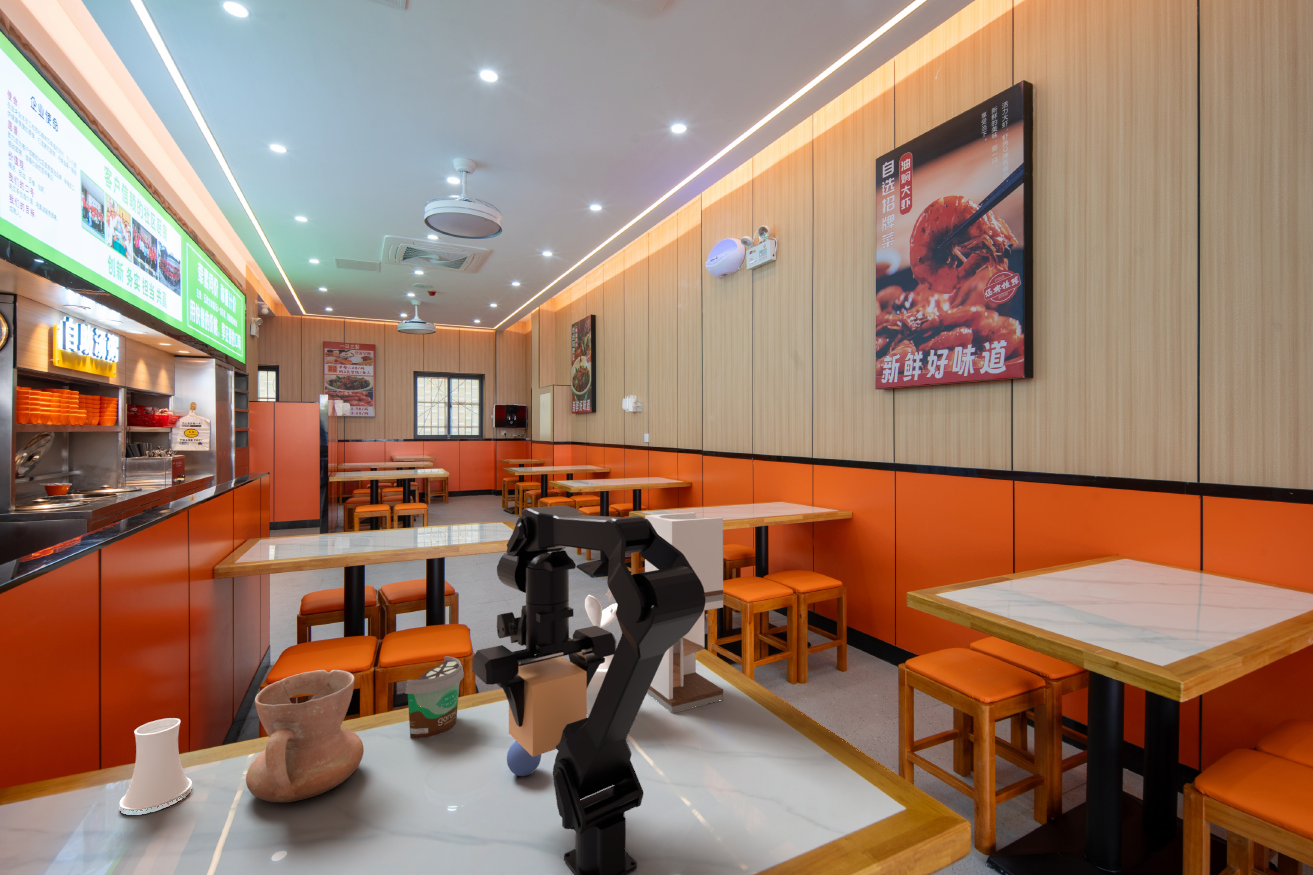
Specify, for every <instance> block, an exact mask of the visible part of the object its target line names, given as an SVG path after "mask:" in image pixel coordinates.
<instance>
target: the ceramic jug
mask: <svg viewBox="0 0 1313 875" xmlns="http://www.w3.org/2000/svg"><path fill="white" fill-rule="evenodd" d="M355 680H356V679H355V675H353V674H352V673H351V672H349V671H345V670H341V669H332V670H331V671H329V672H328V671H326V670H325V669H319V670H312V671H305V672H301V673H298V674H293V675H290V676H287V677H285V678H283V679H280V680H278V681H275V682H272V683H271V684H269V685H267V686H265V687H264V688H262V689H261V690H260V691H259V692H258V693H257V694H256V696H255V699H254V703H255V708H256V712H257V715H258V719H259V721H260V723H261V725H262V727H263V729H264V731H265V733H266V734H267V736H268V740H267V742H266V747H265V749H264V750H262V752H260V753H259V754H258V755H257V756H256V757H255V758H254V760H253V761H252V762H251V763H250V765H249V767H248V770H247V773H246V776H245V783H246V787H247V789H248V791H249V793H250V794H251V795H252V796H253V797H255V798H257V799H260V800H262V801H266V802H270V803H290V802H296V801H297V802H298V801H302V800H307V799H309V798H313V797H316V796H319V795H322V794H323V793H326V792H328V791H330V790H332V789H334V788H336V787H338V786H339V785H340V784H342V783H344V782H345V781H346V780H347V779H348V778H349V777H351V775H352V774H354V773H355V771H356V770H357V769H358V767H359V765H360V763H361V761H362V759H363V755H364V752H365V750H364V745H363V744H364V743H363V741H362V739H361V738H360V736H359V735H358V734H357V733H356V732H354V731H352V730H350V729H347V728H344V727H341V726H342V725H343V724H342V723H343V721H344V720H345V717H346V715H347V712H348V709H349V707H350V703H351V701H352V698H353V697H352V696H353V694H354V693H353V692H354V687H355ZM304 694H306V695H307V694H309V695H310V694H314V695H313V696H312V697H311V699H310V700H306V701H305V702H301V703H292V701H291V700H290V699H291V698H292V697H295V696H297V695H304Z"/></svg>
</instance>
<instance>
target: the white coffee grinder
mask: <svg viewBox="0 0 1313 875" xmlns="http://www.w3.org/2000/svg"><path fill="white" fill-rule="evenodd" d="M696 515H697V513H696V512H681V513H679V512H678V513H665V514H664V513H663V514H647V515H646V514H645V515H644V518H646V519H648V520H649V521H650V523H651V524H652V526H653V527H654V529H655V531H656V532H657V534H658V535H659V536H661V537H662V538H663V539H665V540H666V541H667V542H669V543H670V544H671V545H673V546H674V547H675V548H677V549H678V550H679V551H680V552H682V553H683V554H684V556H685V557H686V559H687V561H688V562H689V564H690V565H691V567H692V568H693V570H694V572H695V573H696V575H697V576H698V578H699V579H700V581H701V583H702V585H703V587H704V593H705V595H704V596H705V597H706V601H705V607H704V611H703V613H702V615H701V616H700V618H699V619H698V620H697V622H696V623H695V624H694V626H693V627H692V628H691V630H690V631H689V632H688V633H687V634H686V635H685V636H684V637H682V638H681V639H680V640H679V641H677V642H676V643H675V644H674V645H673V646H671V647H670V648H669V649H668V650H667V651H666V652H665V654H664V656H663V658H662V661H661V663H660V665H659V667H658V669H657V672H656V674H655V676H654V678H653V680H652V683H651V685H650V687H649V689H648V691H647V693H648V694H649V695H650V696H649V695H648V694H647V695H648V696H649V697H651V698H652V697H653V698H654V699H655V701H656V700H657V701H656V702H657V703H658V702H659V703H658V704H659V705H661V706H662V707H663V706H664V707H663V708H665V710H667V709H668V710H669V711H668V712H670V713H671V714H674V713H675V714H676V713H678V712H682V711H687V710H690V709H689V708H691V709H693V708H692V707H695V706H699V707H702V706H701V705H703V706H706V704H707V705H709V704H708V703H711V704H714V703H713V702H715V703H718V702H717V701H719V700H722V701H724V689H723V688H721V687H720V686H718V685H717V684H715V683H713V682H712V681H710V680H709V679H707V678H705V677H704V676H702V675H701V674H700V673H697V672H696V670H697V667H696V666H697V664H696V660H697V658H696V656H697V653H698V652H700V651H703V650H705V611H708V610H709V611H710V610H715V609H716V610H717V609H720V608H724V517H718V516H717V517H709V518H708V517H707V518H697V517H696ZM655 570H659V569H657V568H656V567H655V566H653V565H652V564H651V563H649V562H648V561H647V560H646V559H644V572H649V571H655ZM653 698H652V699H653ZM654 699H653V700H654ZM719 702H720V701H719ZM695 708H696V707H695ZM686 709H687V710H686Z"/></svg>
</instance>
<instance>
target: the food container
mask: <svg viewBox="0 0 1313 875" xmlns="http://www.w3.org/2000/svg"><path fill="white" fill-rule="evenodd" d="M463 667H464V666H463V665H462V663H461V660H459V659H458V658H456V657H453V656H446V655H444V662H441V663H440V664H439V665H437V666H435V667H432V668H430V669H428V670H426V671H425V672H424V673H423V674H422V675H421V676H420V677H418V678H417V679H407V680H406V685H405V692H404V694H407V702H408V704H407V705H408V722H409V737H410V739H427V738H431V737H432V738H433V737H436V736H439V735H442V734H444V733H445V734H446V733H447V732H448V731H450V730H451V729H453V728H454V727H455V726H456V724H457V720H458V719H457V717H458V706H459V694H460V684H461V683H460V682H461V681H462V680H463V678H464V676H465V673H464V672H465V671H464V669H463ZM420 706H421V707H420Z"/></svg>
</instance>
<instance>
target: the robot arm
mask: <svg viewBox="0 0 1313 875" xmlns="http://www.w3.org/2000/svg"><path fill="white" fill-rule="evenodd" d="M506 548H507V549H506V551H505V552H504V553H503V555H502V556H500V559H499V561H498V564H497V566H496V573H497V577H498V579H499V581H500V582H501V583H502V584H503V585H505V586H507V587H510V588H512V589H514V590H517V591H518V592H522V593H524V594H525V605H522V606H521V611H520V613H521V615H520V616H519V617H515V614H514V612H513V611H511V612H506V613H500V614H498V615H497V616H496V631H497V636H498V638H499V639H504V638H510V644H515V643H517V644H518V645H519V646H520V647H521V646H522V647H523V646H525V648H524V649H519V650H515V651H511V650H510V649H508V648H507V647H506V646H505V645H497V646H492V647H487V648H482V649H478V650H476V652H475V654H474V655H473V657H472V660H471V661H472V663H471V667H472V668H471V670H472V672H471V673H473V674H474V675H475V676H476V677H477V678H479V680H481V681H482V682H483V683H484V684H485V685H498V686H499V688H501V689H502V690H503V693H504V694H505V696H506V699H507V701H508V702H507V703H508V706H509V705H510V708H511V711H512V714H513V716H514V719H515V722H516V724H517V725H518V726H519V727H521V726H522V724H523V718H524V683H525V680H524V679H523V678H522V677H520V676H519V666H522V665H527V664H531V663H535V662H540V661H544V660H548V659H552V658H557V657H565V656H568V659H569V661H570V662H571V663H573V664H575V665H576V666H578V667H580V668H581V669H583V670H585V671H586V672H587V687H588V685H589V683H590V681H591V679H592V678H593V676H594V674H595V672H596V670H597V669H598V667H599V665H600V664H602V663H604V662H605V658H604V657H606V656H610V655H614V656H613V658H612V660H611V663H610V665H609V668H608V670H607V673H606V675H605V678H604V680H603V683H602V685H601V688H600V690H599V692H598V695H597V697H596V700H595V702H594V705H593V707H592V710H591V712H590V715H589V717H588V716H587V718H585V719H582V720H579V721H576V722H573V723H570V724H567V725H566V727H565V728H564V730H563V732H562V737H561V740H560V742H559V744H558V745H557V746H556V749H555V750H557V753H556V756H555V759H554V764H553V767H552V777H553V779H552V781H553V786H554V792H555V799H556V806H557V810H558V815H559V816H560V817H561V826H562V828H564V829H565V830H572V831H573V830H574V831H575V834H574V835H575V836H574V838H575V844H574V845H575V849H572V850H569V851H567V852H564V854H563V861H564V863H566V865H567V866H568V868H569V869H570V871H571V872H572V873H573V874H574V875H627V874H630V873H631V872H633V871H636V870H637V868H638V863H637V860H635V859H634V857H632V855H630V853H629V852H628V851H627V848H626V846H627V845H626V843H627V841H626V840H627V835H626V834H627V829H626V828H627V826H626V825H627V819H626V816H625V815H626V814H625V813H626V812H629V811H630V810H632V809H635V808H638V807H640V806H641V805H642V800H643V799H644V789H643V787H642V785H641V782H640V780H639V778H638V775H637V772H636V770H635V768H634V765H633V763H632V761H631V758H632V751H631V750H632V749H631V748H630V745H629V744H628V741H627V738H628V736H629V733H630V731H631V729H632V727H633V724H634V722H635V720H636V718H637V716H638V715H639V711H640V709H641V707H642V705H643V702H644V701H645V698H646V696H647V695H648V694H647V691H648V689H649V687H650V685H651V683H652V680H653V678H654V676H655V674H656V672H657V669H658V667H659V665H660V663H661V661H662V658H663V656H664V654H665V652H666V651H667V650H668V649H669V648H670V647H671V646H673V645H674V644H675V643H676V642H677V641H679V640H680V639H681V638H682V637H684V636H685V635H686V634H687V633H688V632H689V631H690V630H691V628H692V627H693V626H694V624H695V623H696V622H697V620H698V619H699V618H700V616H701V615H702V613H703V611H704V612H705V610H704V607H705V601H706V597H705V596H704V595H705V593H704V587H703V585H702V583H701V581H700V579H699V578H698V576H697V575H696V573H695V572H694V570H693V568H692V567H691V565H690V564H689V562H688V561H687V559H686V557H685V556H684V554H683V553H682V552H680V551H679V550H678V549H677V548H675V547H674V546H673V545H671V544H670V543H669V542H667V541H666V540H665V539H663V538H662V537H661V536H659V535H658V534H657V532H656V531H655V529H654V527H653V526H652V524H651V523H650V521H649V520H648V519H646V518H645V517H643V516H641V515H635V516H626V517H625V516H624V517H621V516H604V515H603V516H602V515H587V514H585V515H584V514H580V510H578V509H577V508H575V507H572V506H570V505H569V506H568V505H551V506H539V507H538V506H537V507H526V508H524V509H523V510H522V511H521V516H519V517H518V519H517V521H516V523H515V526H514V529H513V531H512V533H511V536H510V538H509V539H508V541H507V543H506ZM566 548H575V549H583V550H588V551H589V550H591V551H595V552H602V553H603V552H604V554H605V555H606V558H607V559H608V567H607V568H608V570H607V571H608V572H607V583H606V584H607V587H608V588H609V589H610V591H611V593H612V595H611V596H612V597H613V599H614V601H615V604H616V603H617V610H616V616H617V618H616V619H617V622H618V624H619V627H620V631H621V635H620V639H619V641H618V643H617V639H616V637H615V635H614V634H613V633H612V632H610V631H608V630H606V629H604V628H600V627H598V626H593V625H591V626H587V627H584V628H579V629H575V631H574V632H573V633H572V638H570V618H571V617H572V618H574V608H572V607H570V598H569V597H570V590H569V589H570V588H569V587H570V586H569V585H570V578H569V577H570V576H569V574H570V570H575V569H576V568H577V566H576V565H577V564H576V562H575V561H574V559H572V558H571V557H570V556H569V554H568V553H567V551H566V550H565V549H566ZM633 553H639V554H640V556H641V557H642V558H643V559H644V560H645V559H646V560H647V561H648V562H649V563H651V564H652V565H653V566H655V567H656V568H657V569H659V570H655V571H649V572H645V571H643V572H638V573H637V572H636V573H633V574H632V573H631V571H630V570H629V568H628V567H627V564H626V555H627V554H633Z"/></svg>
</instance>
